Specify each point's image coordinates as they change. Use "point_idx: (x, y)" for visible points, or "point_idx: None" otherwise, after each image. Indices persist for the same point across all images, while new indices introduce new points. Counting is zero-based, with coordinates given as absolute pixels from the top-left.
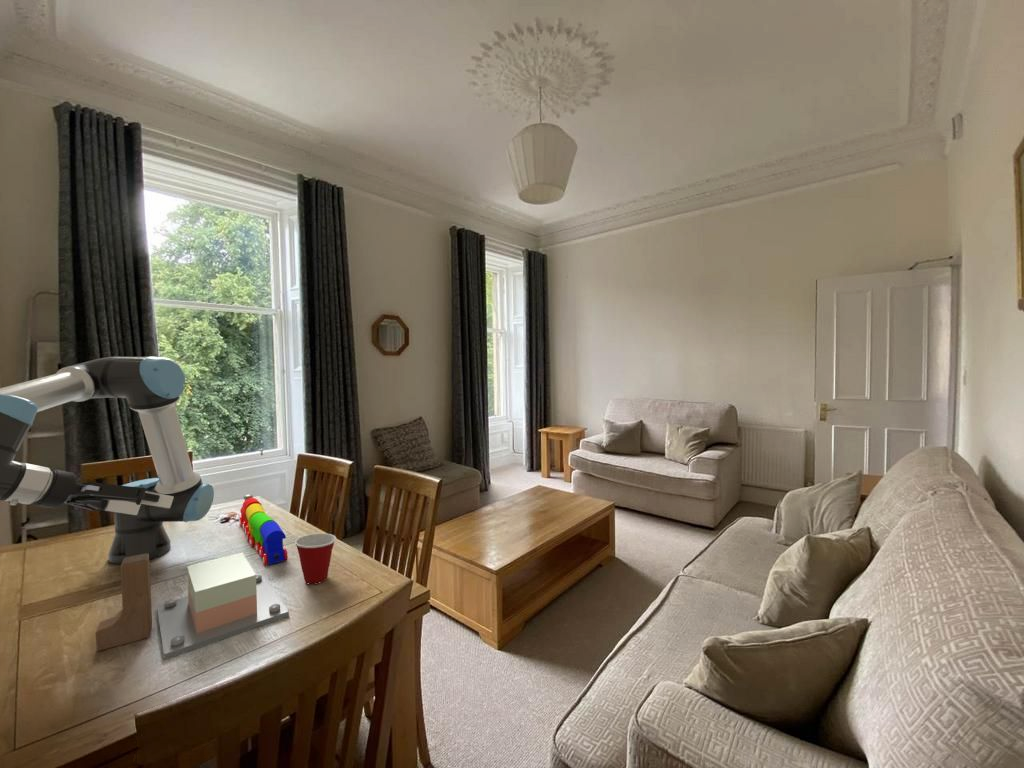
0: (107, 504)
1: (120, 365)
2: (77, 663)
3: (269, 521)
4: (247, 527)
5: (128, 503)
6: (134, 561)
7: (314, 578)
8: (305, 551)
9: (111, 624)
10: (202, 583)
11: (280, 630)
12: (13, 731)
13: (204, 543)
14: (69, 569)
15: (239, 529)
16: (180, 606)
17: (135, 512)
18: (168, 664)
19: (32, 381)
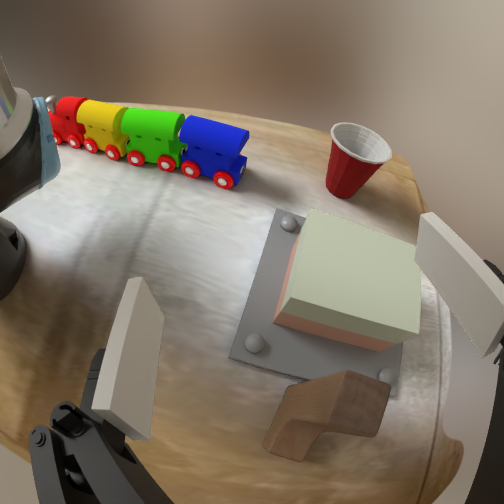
0: (120, 426)
1: None
2: (301, 477)
3: (187, 117)
4: (92, 141)
5: (135, 326)
6: (382, 408)
7: (357, 190)
8: (376, 167)
9: (307, 443)
10: (398, 313)
11: (424, 280)
12: None
13: (53, 195)
14: None
15: (65, 149)
16: (272, 335)
17: (159, 317)
18: (403, 394)
19: None
